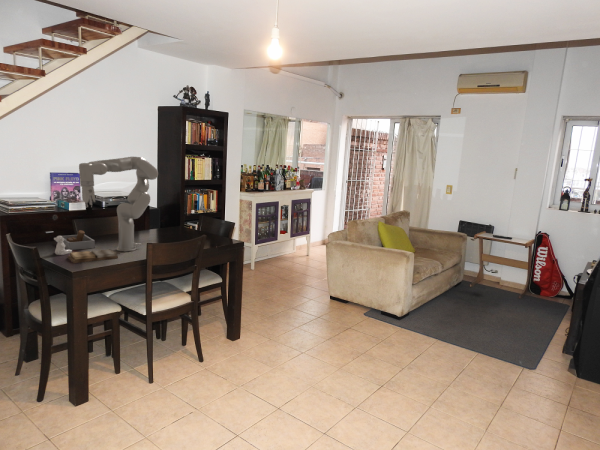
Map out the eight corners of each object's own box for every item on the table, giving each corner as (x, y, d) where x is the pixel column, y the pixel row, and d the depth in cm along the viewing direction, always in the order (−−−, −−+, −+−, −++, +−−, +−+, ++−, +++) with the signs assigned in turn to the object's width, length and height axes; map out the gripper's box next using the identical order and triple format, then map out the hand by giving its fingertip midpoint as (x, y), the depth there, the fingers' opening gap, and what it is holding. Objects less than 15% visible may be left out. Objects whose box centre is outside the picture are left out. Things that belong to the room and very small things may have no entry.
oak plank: (89, 253, 268) (89, 251, 268) (95, 257, 259) (95, 255, 259) (70, 255, 261) (69, 252, 260) (75, 259, 252) (75, 256, 252)
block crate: (84, 241, 307) (84, 234, 307) (94, 247, 290) (94, 240, 289) (59, 243, 297) (59, 236, 296) (68, 250, 279) (68, 242, 278)
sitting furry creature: (72, 252, 274) (72, 234, 272) (65, 256, 265) (65, 237, 263) (57, 252, 273) (56, 233, 271) (50, 255, 265) (49, 236, 263)
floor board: (110, 253, 277) (110, 248, 277) (117, 258, 267) (117, 253, 267) (67, 258, 261) (67, 253, 260) (73, 263, 251) (73, 258, 250)
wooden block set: (68, 251, 285) (72, 238, 282) (60, 244, 288) (64, 231, 285) (92, 247, 301) (96, 235, 298) (84, 241, 304) (88, 229, 301)
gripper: (97, 184, 256) (99, 214, 260) (89, 182, 267) (91, 211, 271) (84, 185, 251) (86, 216, 255) (76, 182, 262) (79, 212, 266)
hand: (89, 213), depth 263 cm, fingers closed
